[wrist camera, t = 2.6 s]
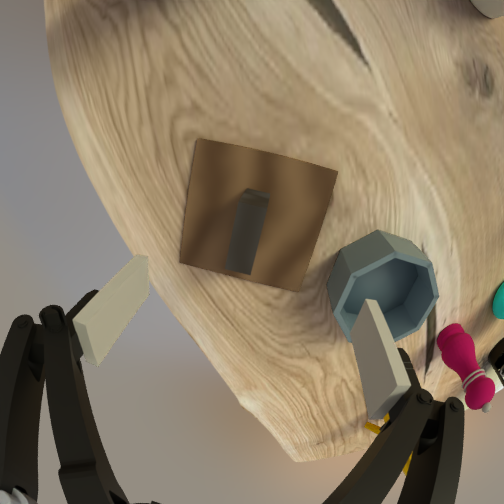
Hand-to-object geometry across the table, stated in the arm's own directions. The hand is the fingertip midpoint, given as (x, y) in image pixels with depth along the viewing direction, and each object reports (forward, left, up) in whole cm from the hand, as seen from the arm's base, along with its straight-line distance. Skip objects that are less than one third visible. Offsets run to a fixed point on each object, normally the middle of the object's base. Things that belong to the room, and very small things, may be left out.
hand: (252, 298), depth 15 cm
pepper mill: (+41, -15, -22) cm, 49 cm away
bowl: (+18, -7, -21) cm, 29 cm away
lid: (-2, -3, -22) cm, 22 cm away
